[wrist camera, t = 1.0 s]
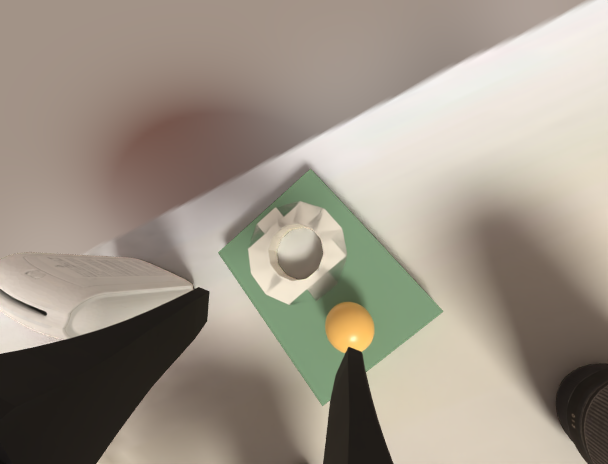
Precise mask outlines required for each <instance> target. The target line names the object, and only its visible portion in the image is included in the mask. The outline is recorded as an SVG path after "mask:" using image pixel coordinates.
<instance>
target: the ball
mask: <svg viewBox="0 0 608 464" xmlns="http://www.w3.org/2000/svg"><path fill="white" fill-rule="evenodd" d="M325 331H326V335H327V338H328V340H329V342H330V343H331V344H332V345H333V346H334V347H335V348H336V349H337V350H339V351H341V352H343V353H346V351H347V348H348V347H351V348H354V349H356V350H359V351H361V352H362V351H364V350H365V349H366V348H367V347H368V346H369V345H370V344H371V342H372V340H373V337H374V331H375V328H374V322H373V319H372V317H371V315H370V314H369V312H368V311H367V310H366V309H365V308H364V307H363V306H361V305H359V304H357V303H354V302H343V303H340V304H338V305H336V306H334V307H333V308H332V309H331V310H330V312H329V313H328V315H327V317H326V321H325Z"/></svg>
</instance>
